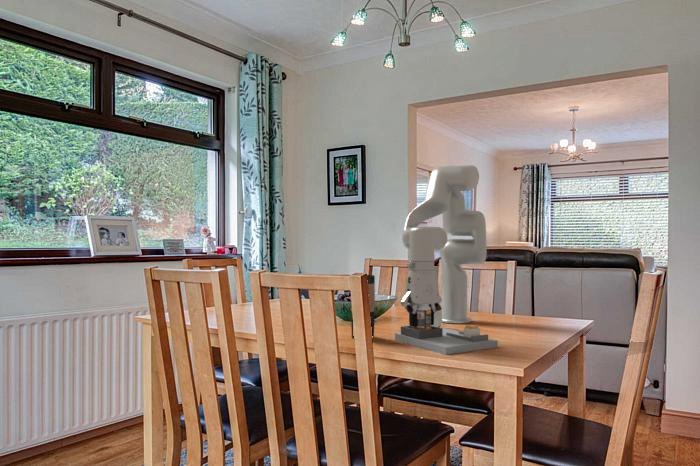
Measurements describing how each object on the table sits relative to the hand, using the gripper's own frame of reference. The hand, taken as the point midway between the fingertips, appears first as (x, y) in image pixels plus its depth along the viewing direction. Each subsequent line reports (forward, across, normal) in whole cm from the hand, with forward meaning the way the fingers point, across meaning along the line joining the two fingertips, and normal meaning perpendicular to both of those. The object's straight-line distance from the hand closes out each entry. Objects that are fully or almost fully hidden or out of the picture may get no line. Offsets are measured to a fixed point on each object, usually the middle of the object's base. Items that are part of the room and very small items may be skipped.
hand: (421, 324), depth 163 cm
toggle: (+3, +10, -12) cm, 16 cm away
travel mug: (+6, -12, +15) cm, 20 cm away
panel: (+5, +5, -5) cm, 9 cm away
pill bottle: (+2, 0, 0) cm, 2 cm away
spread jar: (+6, +15, +15) cm, 22 cm away
